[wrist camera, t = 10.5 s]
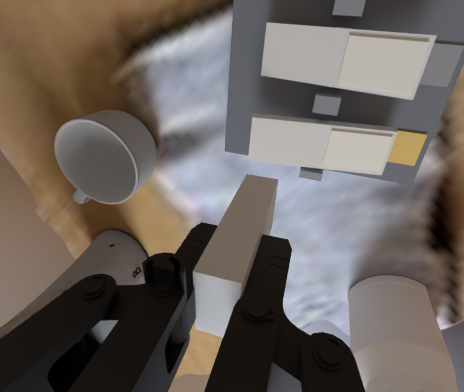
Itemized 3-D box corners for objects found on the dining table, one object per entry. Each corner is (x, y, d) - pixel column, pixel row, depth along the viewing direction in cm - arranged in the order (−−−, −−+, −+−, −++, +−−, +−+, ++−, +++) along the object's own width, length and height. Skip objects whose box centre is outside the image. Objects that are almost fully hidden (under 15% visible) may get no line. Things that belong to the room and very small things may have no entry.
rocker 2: (253, 112, 26) (252, 117, 25) (391, 126, 26) (398, 131, 24) (248, 155, 28) (247, 161, 27) (376, 169, 28) (382, 176, 26)
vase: (173, 274, 52) (43, 475, 28) (124, 292, 58) (-17, 468, 34) (127, 216, 48) (-65, 386, 25) (80, 242, 55) (-110, 397, 31)
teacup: (127, 85, 37) (81, 98, 30) (183, 154, 39) (152, 180, 33) (75, 145, 44) (29, 166, 37) (125, 200, 46) (90, 229, 40)
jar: (342, 278, 41) (345, 387, 29) (421, 269, 37) (465, 392, 24) (363, 336, 45) (374, 454, 32) (437, 333, 41) (482, 468, 28)
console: (253, -94, 25) (225, -134, 19) (509, -97, 21) (582, -149, 15) (235, 139, 36) (213, 163, 30) (403, 168, 32) (420, 202, 26)
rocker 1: (274, 22, 25) (265, 21, 24) (437, 34, 20) (437, 34, 19) (267, 74, 27) (259, 76, 26) (413, 97, 22) (412, 101, 21)
